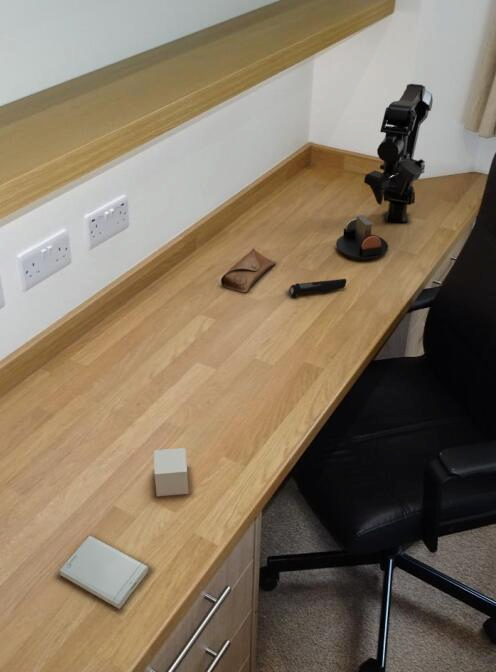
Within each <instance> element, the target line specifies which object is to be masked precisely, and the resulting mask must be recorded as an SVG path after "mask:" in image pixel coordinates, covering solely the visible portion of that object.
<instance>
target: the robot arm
mask: <svg viewBox="0 0 496 672" xmlns="http://www.w3.org/2000/svg"><path fill="white" fill-rule="evenodd" d="M433 100H434V99H433V94H432V93H431V92H430V91H429V90H427V89H426V85H423V84H419V83H409V84H406V87H405V90H403V94H402V95H401V97H400V98H399V99H398V100H396V101H395V100H394V101H392V102H390V103H389V105H388V106H386V107H385V109H384V114H383V119H382V123H381V127H380V131H379V132H380V133H383V134H385V136H384V138H383V140H382V141H381V142H380V144H379V145H378V147H377V150H376V153H377V156H378V158H379V159H380V160H381V161H383V163H382V164H380V166H379V169H380V170H382V171H383V172H381V171H378V170H372V171H370V172H368V173H367V174H365V175H364V179H363V183H364V184H366V185H367V186H369V187H370V189H371V191H372V193H373V196H374V198H375V201H376V203H377V205H379V206H381V205H382V203H383V201H384V202H388V207H387V211H385V222H388V223H403V224H404V223H405V224H406V223H408V222H409V221H408V220H409V219H408V213H407V211H408V206H411V205H413V204H415V202H416V191H415V187H414V181H417V180H419V178H420V177H421V175H422V174H424V173H425V169H426V162H425V161H424V159H422V158H421V159H418V160H417V159H414V155H415V151H416V146H417V141H418V139H419V138H418V137H419V132H420V128H421V125H422V124H423V122H424V121H426V119H427V118H428V116H429V112H431V111H432V108H433V103H434V101H433Z"/></svg>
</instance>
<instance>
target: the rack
mask: <svg viewBox="0 0 496 672" xmlns="http://www.w3.org/2000/svg"><path fill="white" fill-rule="evenodd" d="M372 229H373V223H372V222H371V221H370V220H369V219H368V218H367V217H366V216H365V215H364V214H360V215H357V216H356V218H352V219H350V220H349V221H348V222H347V224H346V225H345V228H343V235H341V236H340V237H338V238H337V240H336V242H335V248H336V249H337V251H338V252H339V253H341V254H342V255H344V256H345V257H347V256H348V258H350V257H352V258H356V259H372V260H375V259H377V258H381V257H383V256H385V255H386V254H387V253H388V251H389V245H388V242H387V241H386V240H385V239H384V238H382V237H380V236H379V235H376V234H373V233H372ZM352 258H351V259H352ZM374 258H375V259H374ZM356 259H355V260H356Z"/></svg>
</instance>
